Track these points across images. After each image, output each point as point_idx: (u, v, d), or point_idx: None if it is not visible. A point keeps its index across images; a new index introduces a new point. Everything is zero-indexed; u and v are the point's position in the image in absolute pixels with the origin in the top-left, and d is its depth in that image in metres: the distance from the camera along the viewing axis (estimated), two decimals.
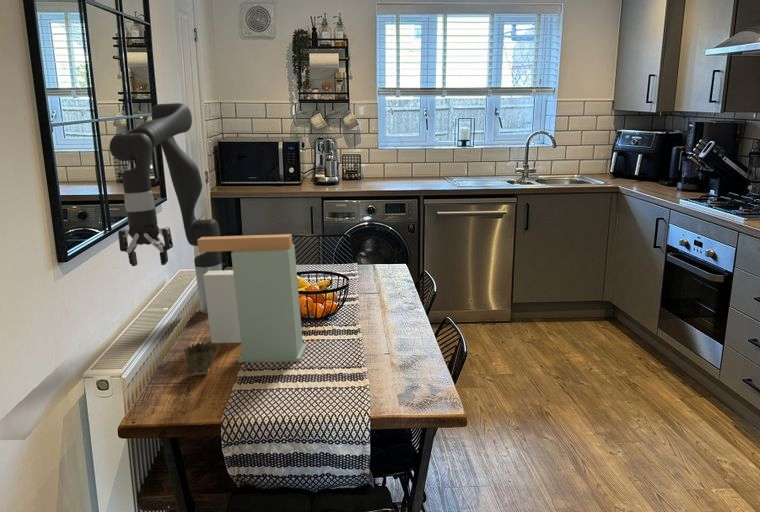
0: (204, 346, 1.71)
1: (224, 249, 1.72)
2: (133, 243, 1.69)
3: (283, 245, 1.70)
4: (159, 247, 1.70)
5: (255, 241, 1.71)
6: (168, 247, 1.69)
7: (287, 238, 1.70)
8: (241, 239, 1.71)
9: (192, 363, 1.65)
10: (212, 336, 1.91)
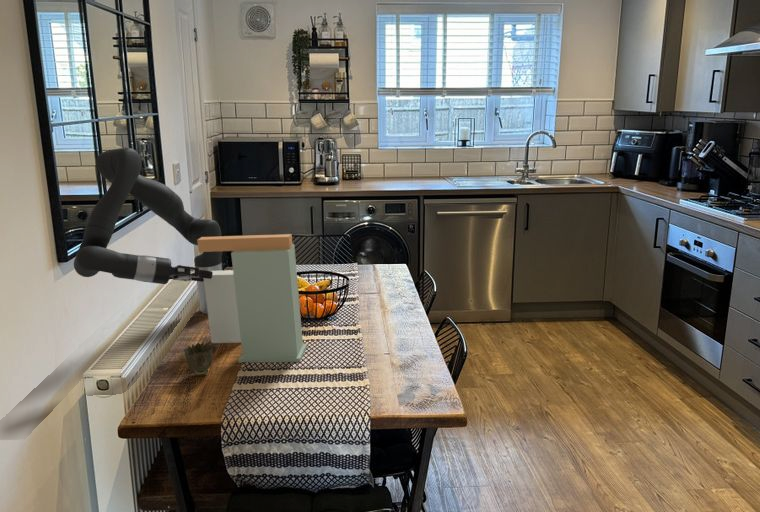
0: (204, 346, 1.71)
1: (224, 249, 1.72)
2: (182, 280, 1.83)
3: (283, 245, 1.70)
4: (193, 276, 1.78)
5: (255, 241, 1.71)
6: (196, 276, 1.76)
7: (287, 238, 1.70)
8: (241, 239, 1.71)
9: (192, 363, 1.65)
10: (212, 336, 1.91)
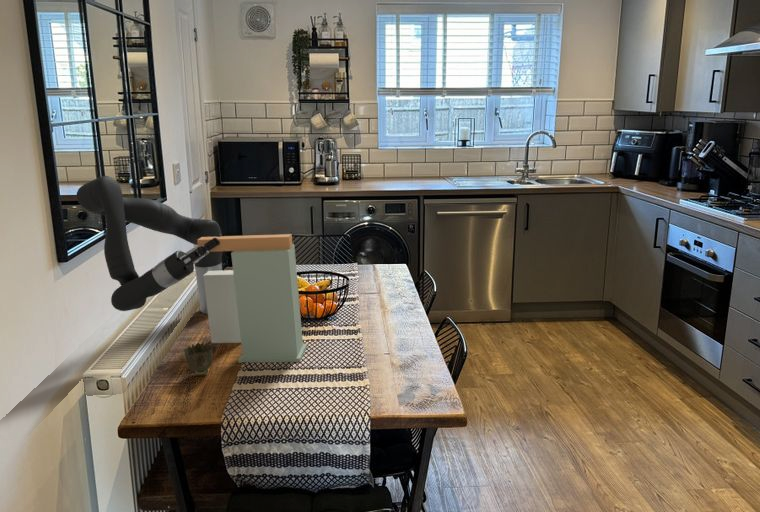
0: (204, 346, 1.71)
1: (224, 249, 1.72)
2: (205, 255, 1.76)
3: (283, 245, 1.70)
4: (205, 253, 1.72)
5: (255, 241, 1.71)
6: (202, 255, 1.70)
7: (287, 238, 1.70)
8: (241, 239, 1.71)
9: (192, 363, 1.65)
10: (212, 336, 1.91)
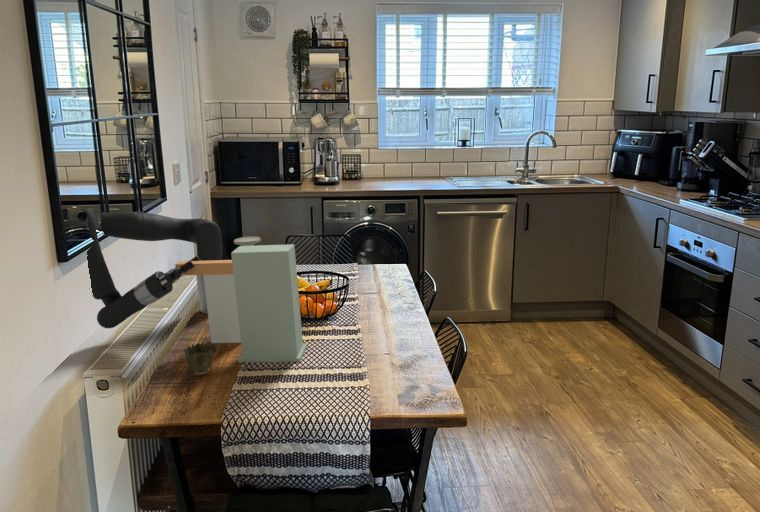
0: (204, 346, 1.71)
1: (200, 273, 1.87)
2: None
3: None
4: (180, 275, 1.86)
5: (228, 266, 1.86)
6: (178, 277, 1.84)
7: None
8: (215, 264, 1.86)
9: (192, 363, 1.65)
10: (212, 336, 1.91)
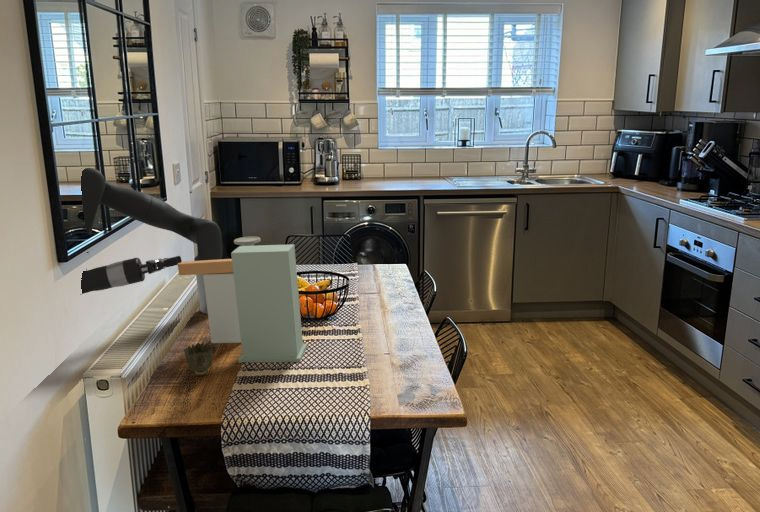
0: (204, 346, 1.71)
1: (202, 272, 1.87)
2: None
3: None
4: None
5: (230, 264, 1.86)
6: (159, 269, 1.84)
7: None
8: (217, 262, 1.86)
9: (192, 363, 1.65)
10: (212, 336, 1.91)
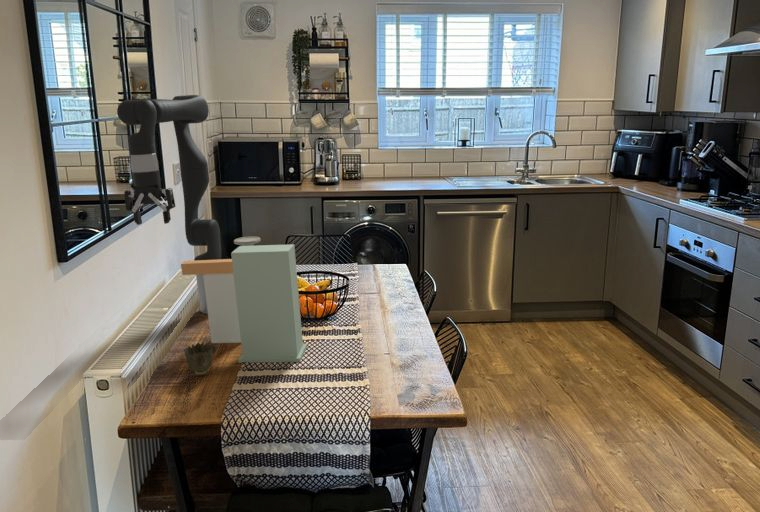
0: (204, 346, 1.71)
1: (206, 272, 1.88)
2: (138, 202, 1.82)
3: None
4: (162, 206, 1.82)
5: None
6: (171, 206, 1.82)
7: None
8: (222, 263, 1.87)
9: (192, 363, 1.65)
10: (212, 336, 1.91)
